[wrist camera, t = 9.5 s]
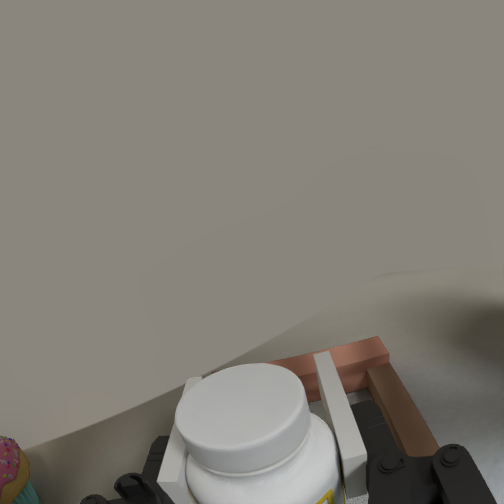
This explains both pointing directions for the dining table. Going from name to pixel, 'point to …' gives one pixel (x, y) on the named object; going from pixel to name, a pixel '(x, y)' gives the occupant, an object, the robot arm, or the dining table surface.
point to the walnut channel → (370, 389)
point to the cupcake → (15, 475)
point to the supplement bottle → (257, 440)
